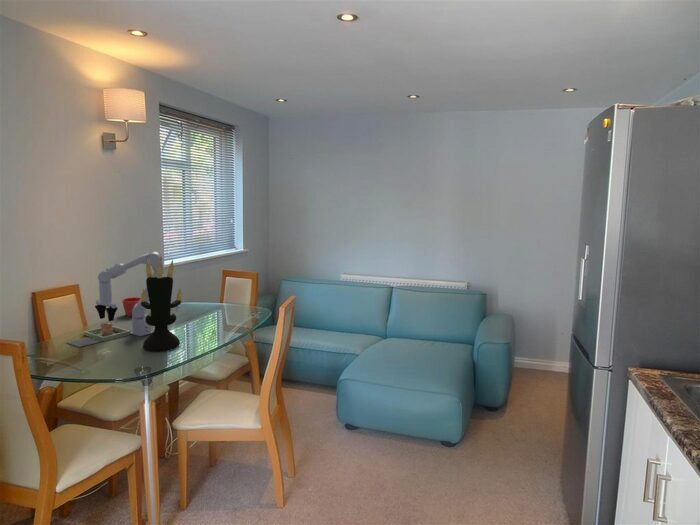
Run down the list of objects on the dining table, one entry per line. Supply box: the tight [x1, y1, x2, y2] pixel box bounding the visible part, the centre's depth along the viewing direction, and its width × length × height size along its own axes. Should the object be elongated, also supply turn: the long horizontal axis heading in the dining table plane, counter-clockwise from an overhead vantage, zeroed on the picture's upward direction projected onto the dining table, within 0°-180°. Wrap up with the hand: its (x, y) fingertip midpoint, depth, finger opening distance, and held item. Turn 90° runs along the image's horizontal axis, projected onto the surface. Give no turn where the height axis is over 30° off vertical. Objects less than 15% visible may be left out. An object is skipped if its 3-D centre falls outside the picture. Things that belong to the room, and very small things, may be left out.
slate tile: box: [66, 336, 102, 349], centre depth 238 cm, size 11×11×1 cm
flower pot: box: [122, 296, 141, 317], centre depth 291 cm, size 11×11×10 cm
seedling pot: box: [100, 321, 114, 337], centre depth 251 cm, size 6×6×6 cm
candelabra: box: [140, 259, 183, 353], centre depth 230 cm, size 19×22×45 cm
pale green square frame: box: [83, 325, 132, 342], centre depth 251 cm, size 17×15×2 cm
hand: (106, 319), depth 250 cm, fingers open, 7 cm apart
